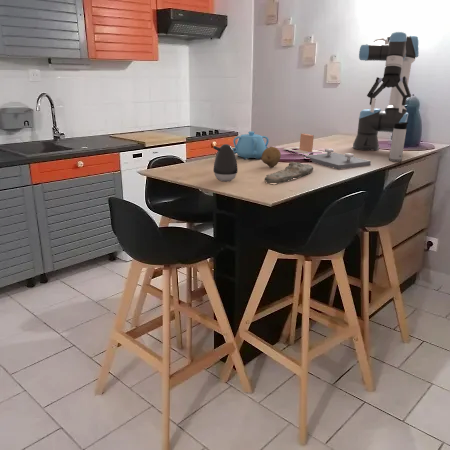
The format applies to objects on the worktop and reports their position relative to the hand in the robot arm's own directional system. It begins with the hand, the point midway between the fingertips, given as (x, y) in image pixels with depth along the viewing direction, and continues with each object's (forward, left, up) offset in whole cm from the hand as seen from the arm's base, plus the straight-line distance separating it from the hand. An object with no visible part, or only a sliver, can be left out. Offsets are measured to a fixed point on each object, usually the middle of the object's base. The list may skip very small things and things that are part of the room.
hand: (385, 112), depth 210 cm
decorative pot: (+47, -45, -26) cm, 70 cm away
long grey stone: (+55, -2, -27) cm, 61 cm away
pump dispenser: (+84, -9, -26) cm, 88 cm away
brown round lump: (+52, -20, -26) cm, 62 cm away
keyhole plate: (+11, -42, -26) cm, 51 cm away
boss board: (+14, -15, -26) cm, 33 cm away
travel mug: (-19, -5, -26) cm, 32 cm away
